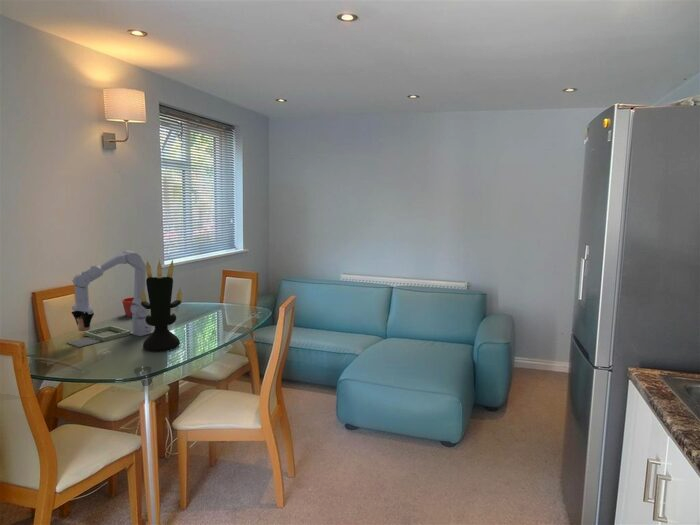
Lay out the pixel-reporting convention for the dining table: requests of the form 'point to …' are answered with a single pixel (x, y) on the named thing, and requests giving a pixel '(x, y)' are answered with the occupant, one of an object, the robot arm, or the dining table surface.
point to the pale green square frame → (123, 333)
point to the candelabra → (160, 309)
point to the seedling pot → (81, 324)
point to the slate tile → (83, 342)
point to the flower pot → (127, 305)
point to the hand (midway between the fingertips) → (83, 326)
